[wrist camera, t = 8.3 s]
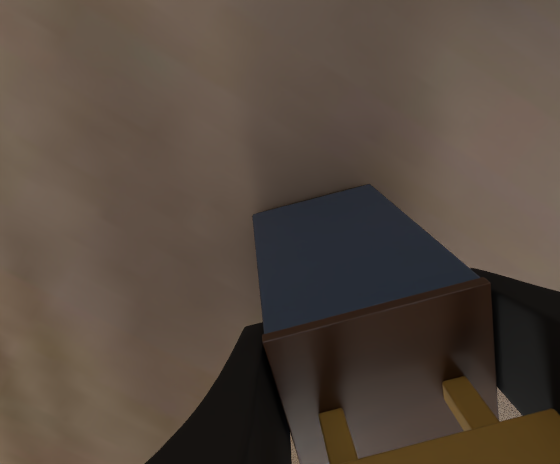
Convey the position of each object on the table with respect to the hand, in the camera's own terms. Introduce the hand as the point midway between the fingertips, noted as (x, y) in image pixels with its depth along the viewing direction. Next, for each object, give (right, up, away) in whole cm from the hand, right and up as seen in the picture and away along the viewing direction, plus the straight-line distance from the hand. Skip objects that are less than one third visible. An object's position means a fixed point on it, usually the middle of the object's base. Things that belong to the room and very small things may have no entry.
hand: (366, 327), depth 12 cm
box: (+1, -3, +2) cm, 4 cm away
